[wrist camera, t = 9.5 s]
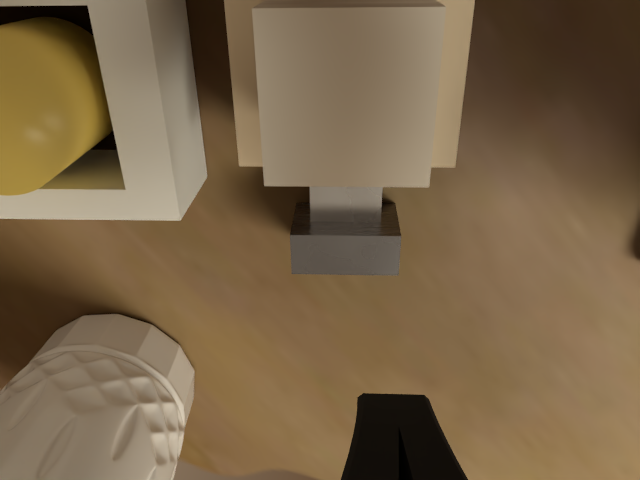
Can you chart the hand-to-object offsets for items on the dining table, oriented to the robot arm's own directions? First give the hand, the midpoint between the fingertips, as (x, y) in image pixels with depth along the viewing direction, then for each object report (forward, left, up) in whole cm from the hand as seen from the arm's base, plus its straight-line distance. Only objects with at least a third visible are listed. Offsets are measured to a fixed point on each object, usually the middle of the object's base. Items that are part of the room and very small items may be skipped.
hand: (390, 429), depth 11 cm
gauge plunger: (+10, -5, -9) cm, 14 cm away
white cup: (+11, +8, -10) cm, 17 cm away
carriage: (+1, -6, -10) cm, 12 cm away
